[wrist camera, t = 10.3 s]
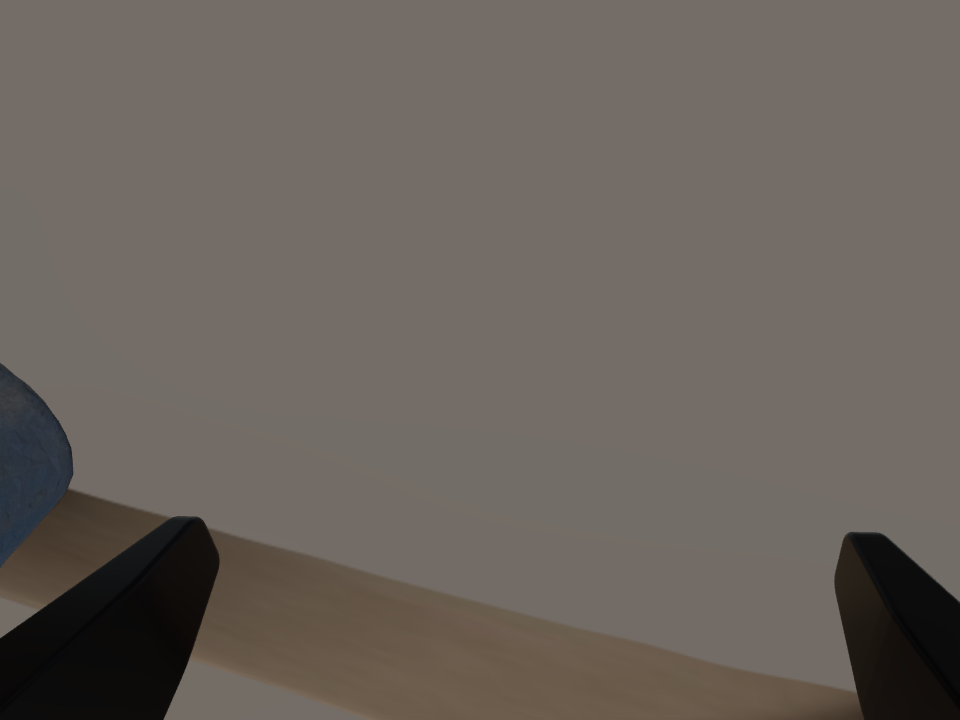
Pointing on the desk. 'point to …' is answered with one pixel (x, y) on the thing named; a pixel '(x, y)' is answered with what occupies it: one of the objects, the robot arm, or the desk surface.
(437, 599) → the desk surface
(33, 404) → the bottle
